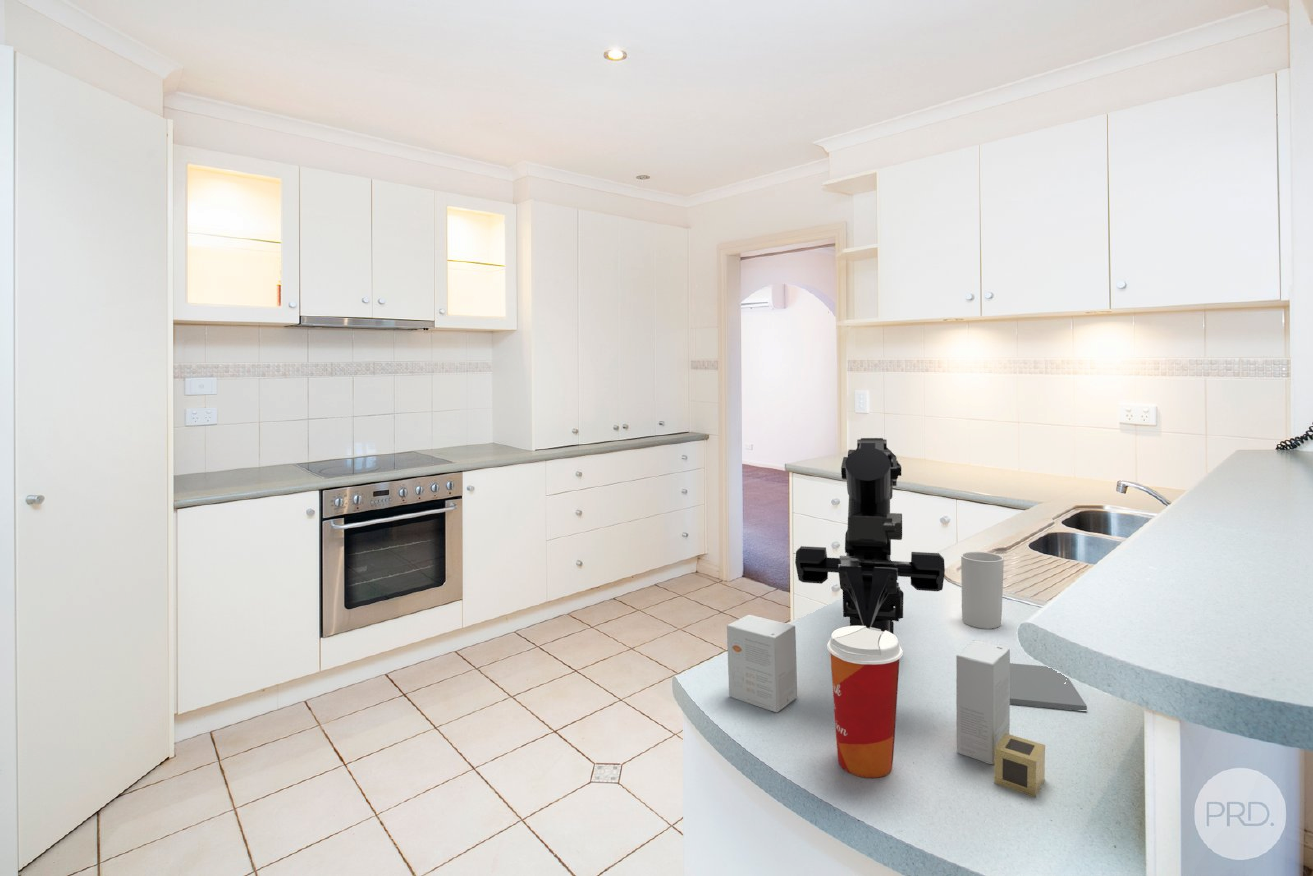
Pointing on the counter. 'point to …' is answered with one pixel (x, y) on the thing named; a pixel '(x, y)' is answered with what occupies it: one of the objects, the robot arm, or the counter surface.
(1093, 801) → the counter surface
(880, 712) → the coffee cup
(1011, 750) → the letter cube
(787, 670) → the small box
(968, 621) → the mug
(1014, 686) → the slate pad
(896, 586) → the robot arm
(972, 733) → the skincare box
